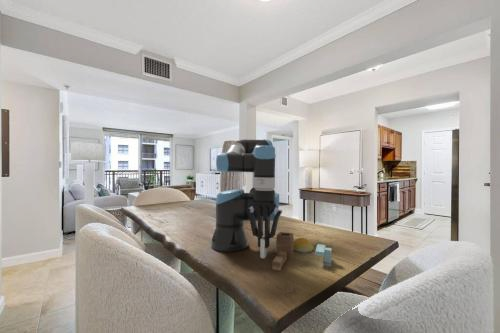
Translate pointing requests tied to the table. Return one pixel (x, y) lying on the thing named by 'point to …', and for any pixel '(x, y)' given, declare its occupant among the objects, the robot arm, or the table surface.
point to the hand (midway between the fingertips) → (263, 256)
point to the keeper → (324, 254)
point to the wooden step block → (283, 249)
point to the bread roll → (302, 245)
